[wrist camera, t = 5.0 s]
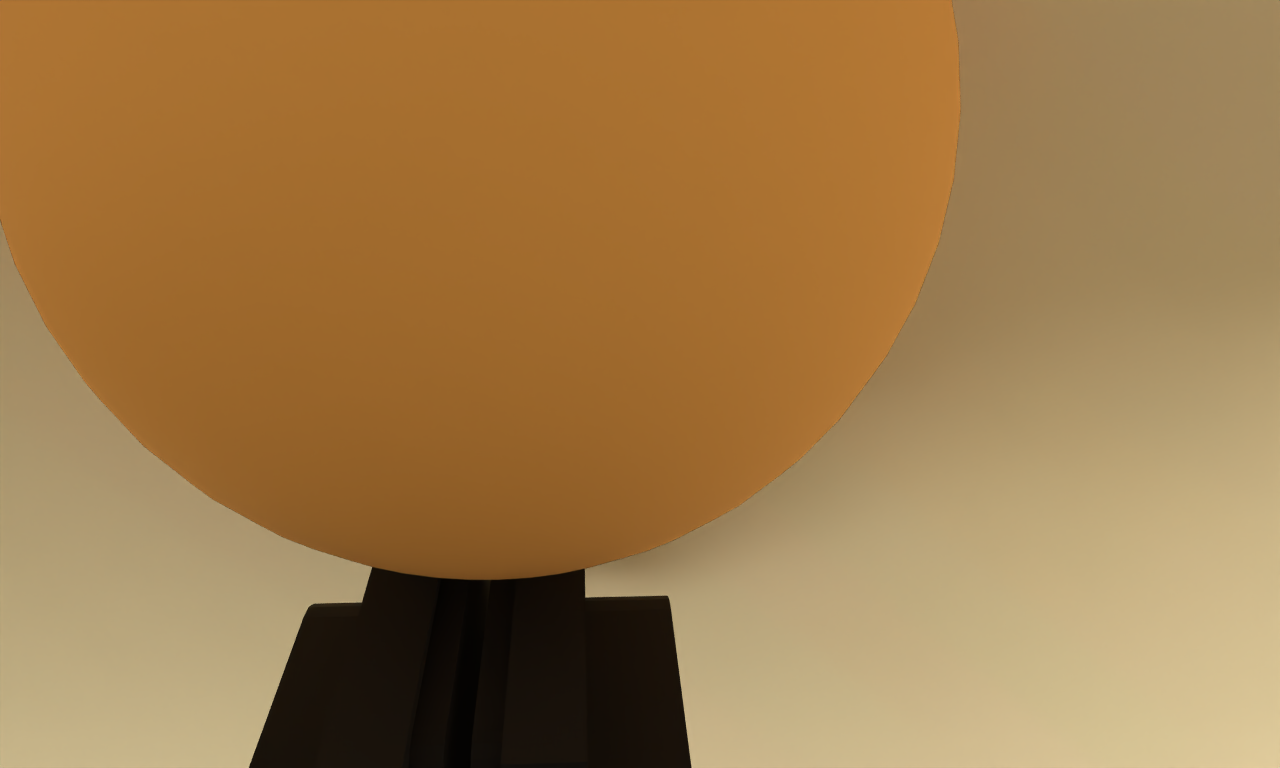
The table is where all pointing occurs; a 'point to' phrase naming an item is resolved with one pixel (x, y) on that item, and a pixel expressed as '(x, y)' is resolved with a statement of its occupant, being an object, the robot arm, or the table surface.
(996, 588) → the table surface
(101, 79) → the ball
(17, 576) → the table surface
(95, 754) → the table surface
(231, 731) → the table surface
